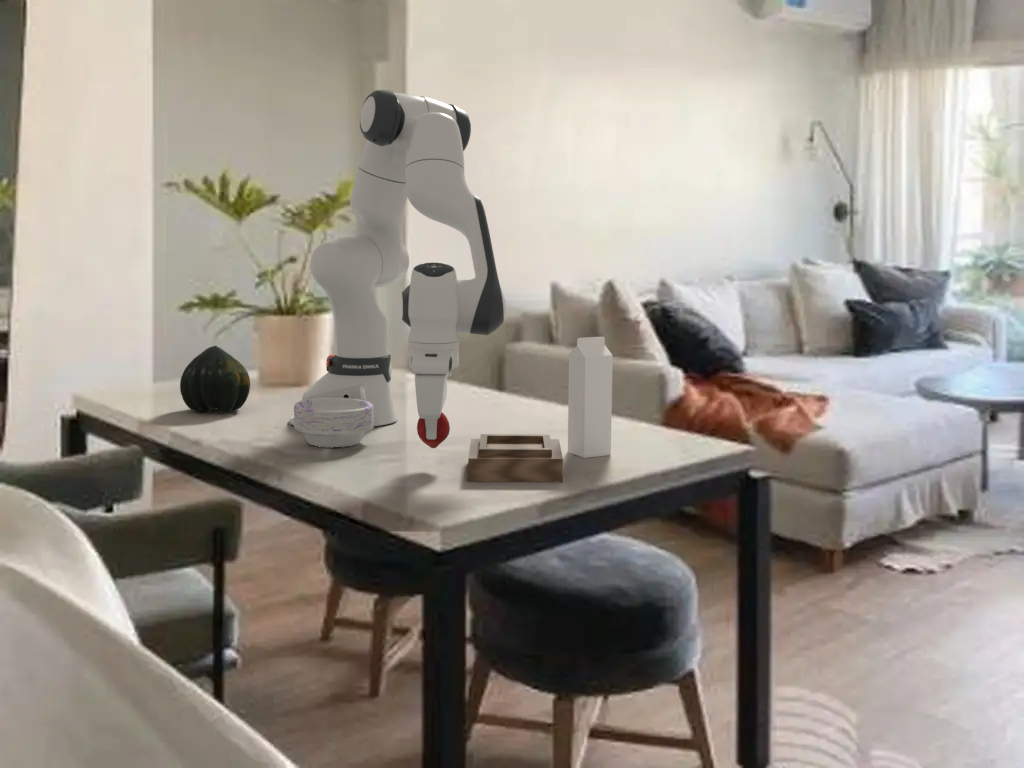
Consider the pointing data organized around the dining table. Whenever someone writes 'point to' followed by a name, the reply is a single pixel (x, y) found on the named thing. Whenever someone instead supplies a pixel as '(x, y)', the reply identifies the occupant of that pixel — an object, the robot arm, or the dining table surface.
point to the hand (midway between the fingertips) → (433, 434)
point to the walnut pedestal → (515, 458)
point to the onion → (442, 431)
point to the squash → (214, 382)
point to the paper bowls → (333, 421)
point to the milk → (590, 398)
